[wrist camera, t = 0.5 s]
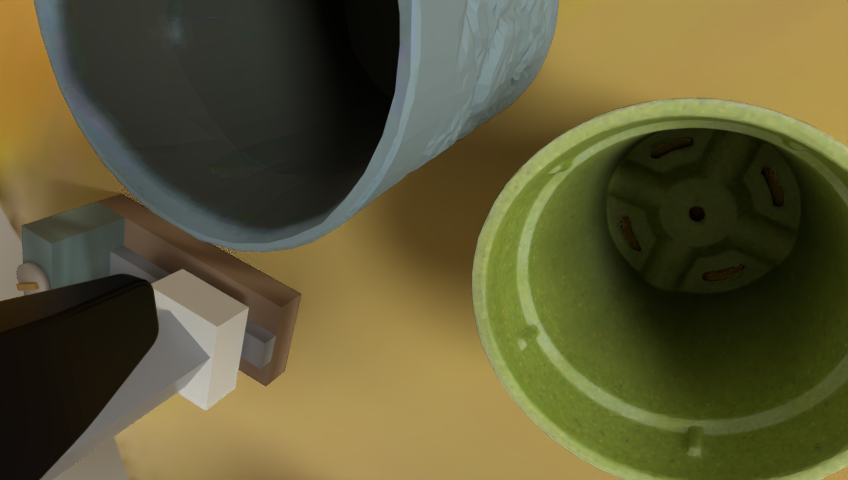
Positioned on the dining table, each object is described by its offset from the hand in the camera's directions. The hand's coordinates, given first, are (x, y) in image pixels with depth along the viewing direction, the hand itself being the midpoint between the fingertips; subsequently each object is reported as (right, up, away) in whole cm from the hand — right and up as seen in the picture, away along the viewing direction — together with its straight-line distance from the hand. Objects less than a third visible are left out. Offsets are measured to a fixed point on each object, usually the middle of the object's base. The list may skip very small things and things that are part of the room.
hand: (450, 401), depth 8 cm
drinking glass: (0, +10, +15) cm, 18 cm away
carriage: (-11, -2, +22) cm, 25 cm away
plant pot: (+9, +3, +13) cm, 16 cm away
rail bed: (-12, 0, +25) cm, 28 cm away
